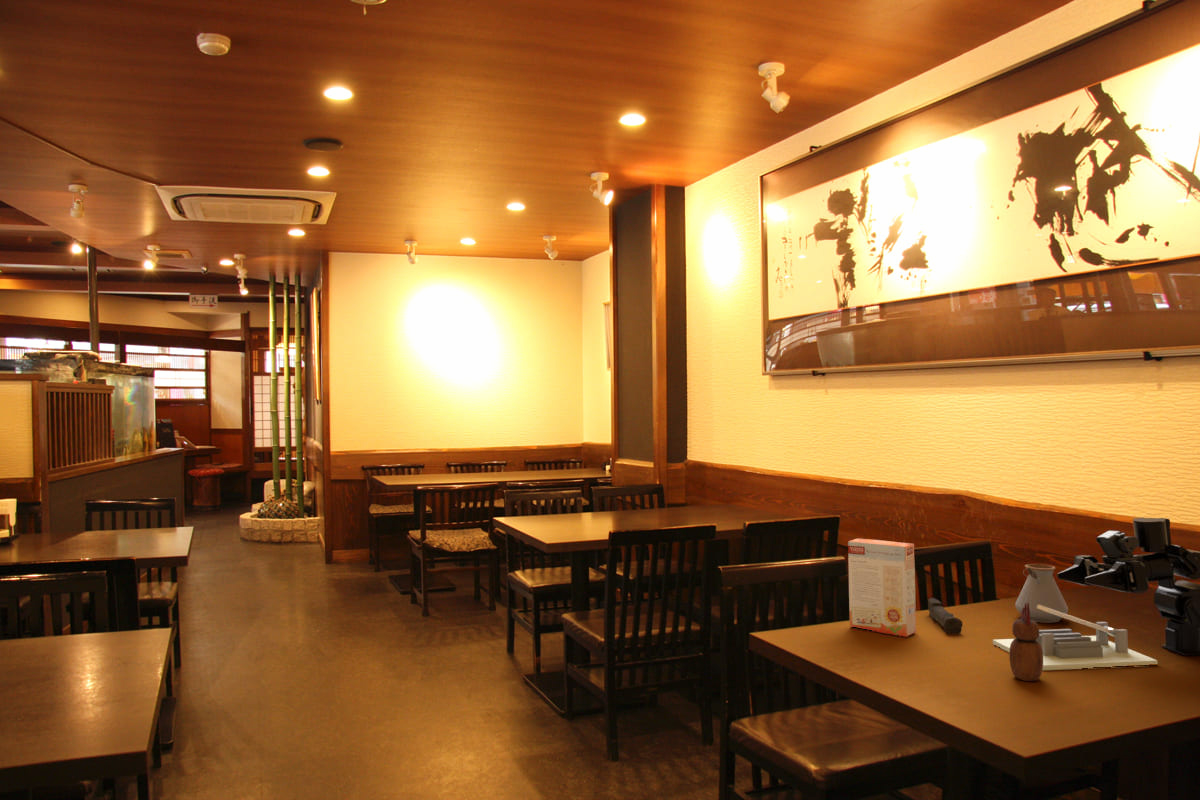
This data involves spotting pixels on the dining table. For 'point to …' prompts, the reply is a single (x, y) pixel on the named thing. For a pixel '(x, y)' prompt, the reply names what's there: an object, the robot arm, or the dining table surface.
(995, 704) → the dining table surface
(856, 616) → the cracker box
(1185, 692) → the dining table surface
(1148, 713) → the dining table surface
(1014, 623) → the wooden figurine
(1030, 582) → the coffee pot
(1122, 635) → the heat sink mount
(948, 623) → the hand tool
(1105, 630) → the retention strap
